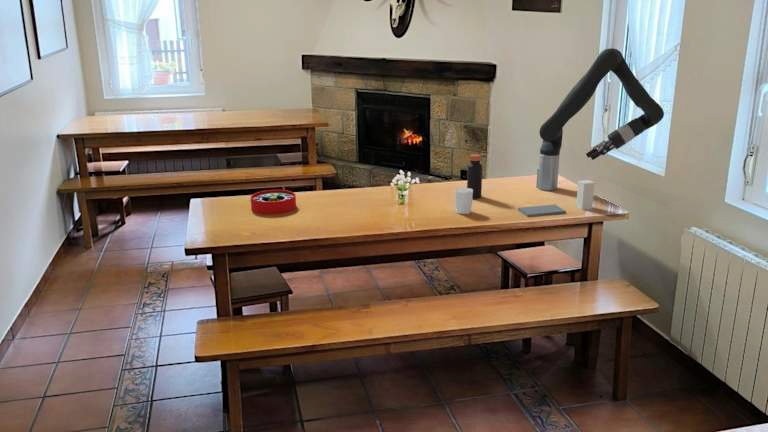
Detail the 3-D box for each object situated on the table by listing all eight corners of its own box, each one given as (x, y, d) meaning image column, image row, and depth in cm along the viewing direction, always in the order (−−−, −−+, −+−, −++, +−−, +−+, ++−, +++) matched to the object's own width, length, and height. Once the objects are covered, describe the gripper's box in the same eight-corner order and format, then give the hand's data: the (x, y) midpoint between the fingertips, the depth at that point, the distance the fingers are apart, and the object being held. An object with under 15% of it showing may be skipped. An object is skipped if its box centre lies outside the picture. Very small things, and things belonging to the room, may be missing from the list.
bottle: (480, 199, 321) (482, 157, 314) (466, 198, 322) (467, 156, 316) (481, 195, 327) (483, 153, 321) (467, 194, 328) (468, 153, 322)
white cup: (474, 210, 305) (474, 188, 302) (470, 215, 298) (470, 193, 294) (456, 208, 307) (457, 187, 304) (452, 213, 300) (452, 191, 297)
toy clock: (282, 203, 297) (242, 199, 304) (283, 216, 299) (243, 212, 306) (303, 191, 315) (264, 188, 322) (303, 204, 317) (265, 200, 324)
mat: (527, 216, 295) (527, 214, 295) (517, 209, 304) (517, 207, 304) (565, 213, 299) (565, 210, 299) (554, 206, 308) (555, 204, 308)
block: (582, 209, 303) (584, 183, 300) (576, 206, 308) (578, 180, 304) (592, 208, 305) (594, 182, 301) (585, 205, 309) (588, 179, 306)
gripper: (612, 128, 309) (581, 148, 312) (621, 130, 295) (588, 151, 298) (621, 142, 310) (589, 162, 313) (630, 145, 296) (597, 166, 299)
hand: (589, 157), depth 305 cm, fingers open, 8 cm apart
